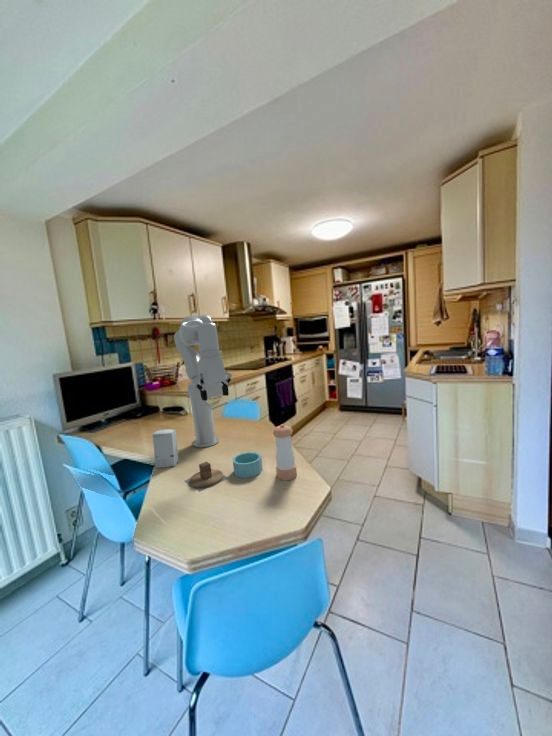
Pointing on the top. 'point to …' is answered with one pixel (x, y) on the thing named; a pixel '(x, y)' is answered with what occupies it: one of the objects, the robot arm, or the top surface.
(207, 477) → the lid
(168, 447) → the skincare box
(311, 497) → the top surface
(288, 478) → the salt shaker
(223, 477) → the mat
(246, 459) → the bowl
